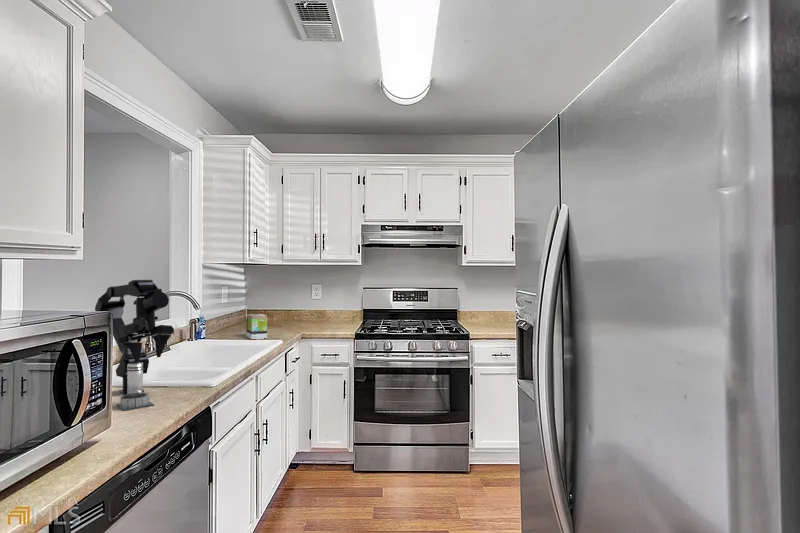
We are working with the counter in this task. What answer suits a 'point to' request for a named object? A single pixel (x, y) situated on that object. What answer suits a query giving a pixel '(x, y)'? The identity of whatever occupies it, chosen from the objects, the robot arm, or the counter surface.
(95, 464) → the counter surface
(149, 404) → the sleeve
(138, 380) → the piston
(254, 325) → the tea box
